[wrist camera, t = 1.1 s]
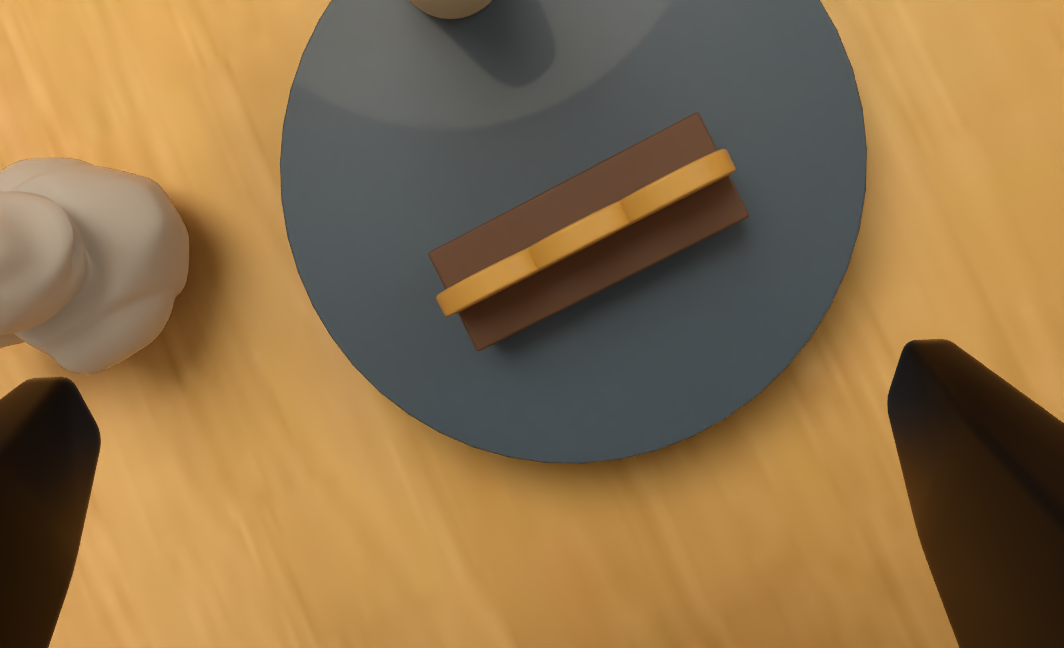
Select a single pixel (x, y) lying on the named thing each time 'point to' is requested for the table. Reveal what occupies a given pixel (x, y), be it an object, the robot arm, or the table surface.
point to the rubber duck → (86, 261)
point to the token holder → (572, 208)
